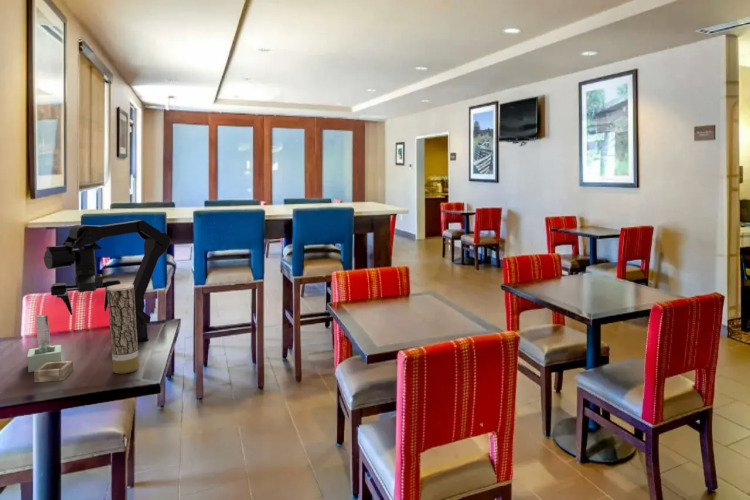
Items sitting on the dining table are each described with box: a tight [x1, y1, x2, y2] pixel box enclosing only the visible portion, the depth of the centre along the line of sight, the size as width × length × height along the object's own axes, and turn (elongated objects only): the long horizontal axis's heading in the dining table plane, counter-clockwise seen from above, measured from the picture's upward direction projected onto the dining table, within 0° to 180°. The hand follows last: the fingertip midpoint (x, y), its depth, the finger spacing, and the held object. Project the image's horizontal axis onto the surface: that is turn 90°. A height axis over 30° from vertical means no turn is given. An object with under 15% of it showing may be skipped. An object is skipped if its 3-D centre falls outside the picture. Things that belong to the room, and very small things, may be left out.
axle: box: [35, 314, 52, 354], centre depth 141 cm, size 3×3×14 cm
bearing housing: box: [33, 360, 74, 383], centre depth 134 cm, size 7×7×3 cm
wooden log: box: [107, 283, 140, 375], centre depth 137 cm, size 7×7×25 cm
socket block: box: [26, 344, 63, 373], centre depth 142 cm, size 8×8×4 cm
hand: (88, 312), depth 152 cm, fingers open, 9 cm apart
